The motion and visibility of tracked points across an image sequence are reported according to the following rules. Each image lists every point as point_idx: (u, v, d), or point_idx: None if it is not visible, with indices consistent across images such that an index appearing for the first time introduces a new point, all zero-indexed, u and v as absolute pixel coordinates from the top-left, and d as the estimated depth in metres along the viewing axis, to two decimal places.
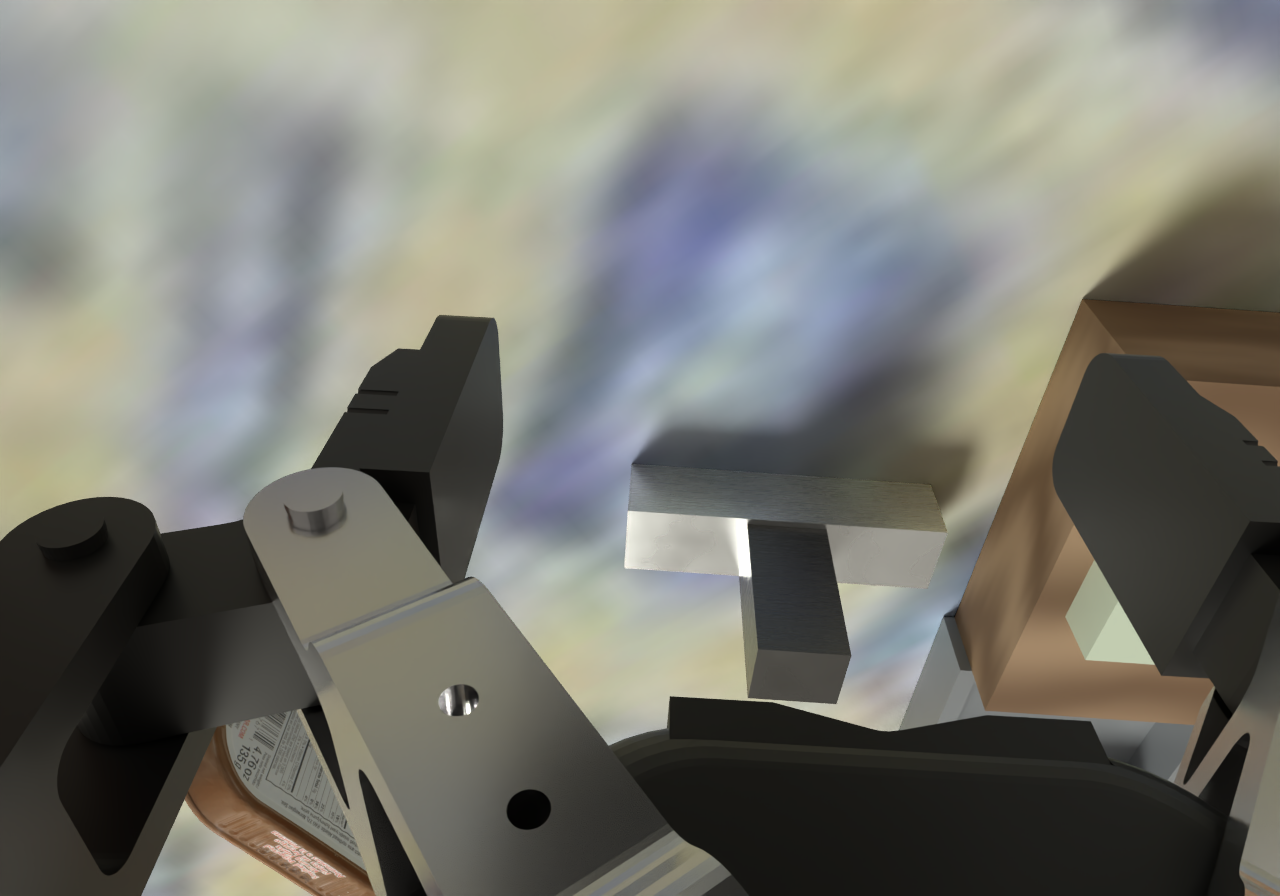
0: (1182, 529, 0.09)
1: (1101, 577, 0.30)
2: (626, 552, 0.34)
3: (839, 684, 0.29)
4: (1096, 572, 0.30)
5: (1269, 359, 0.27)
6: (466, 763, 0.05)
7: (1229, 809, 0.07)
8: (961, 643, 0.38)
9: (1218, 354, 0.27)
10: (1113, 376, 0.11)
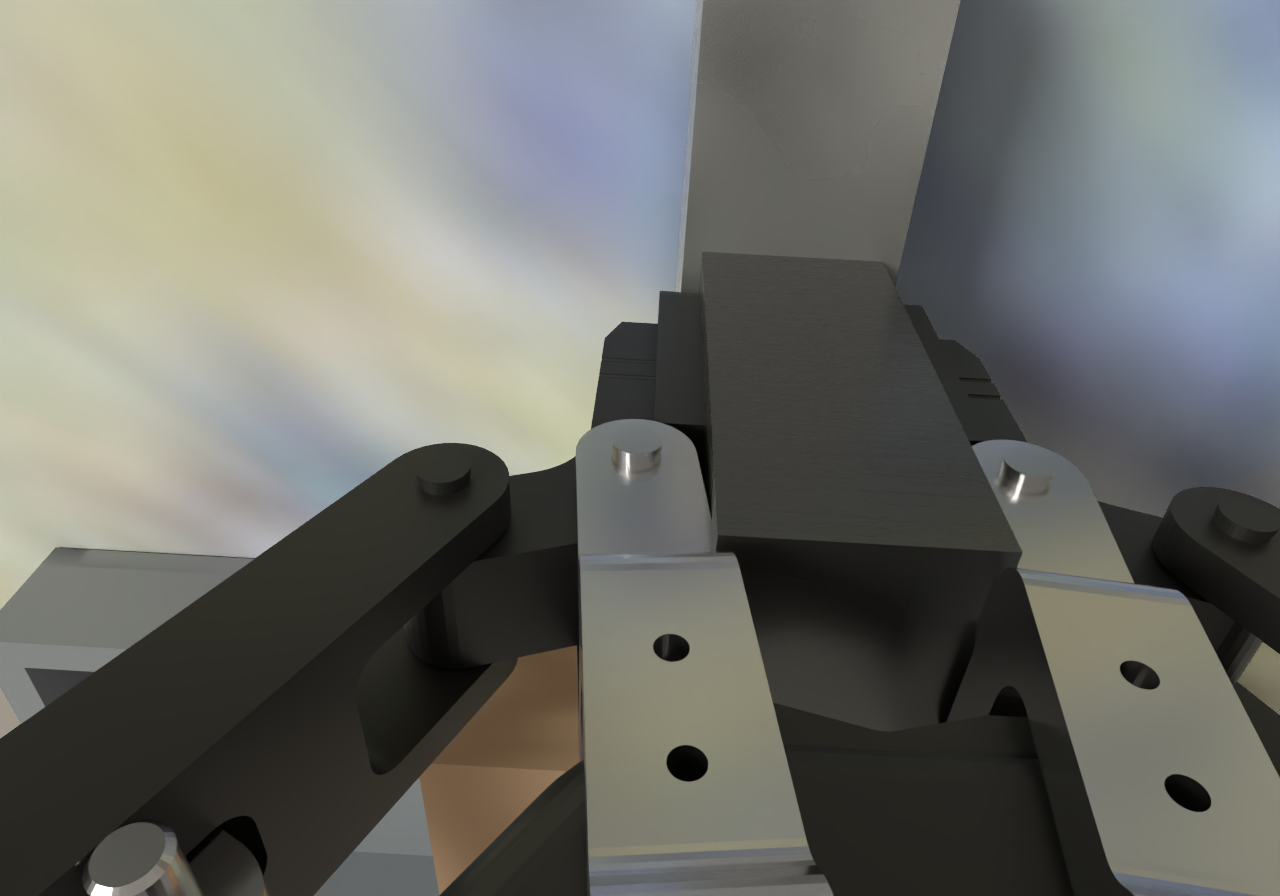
0: None
1: None
2: None
3: None
4: None
5: None
6: (653, 701, 0.06)
7: None
8: None
9: None
10: None
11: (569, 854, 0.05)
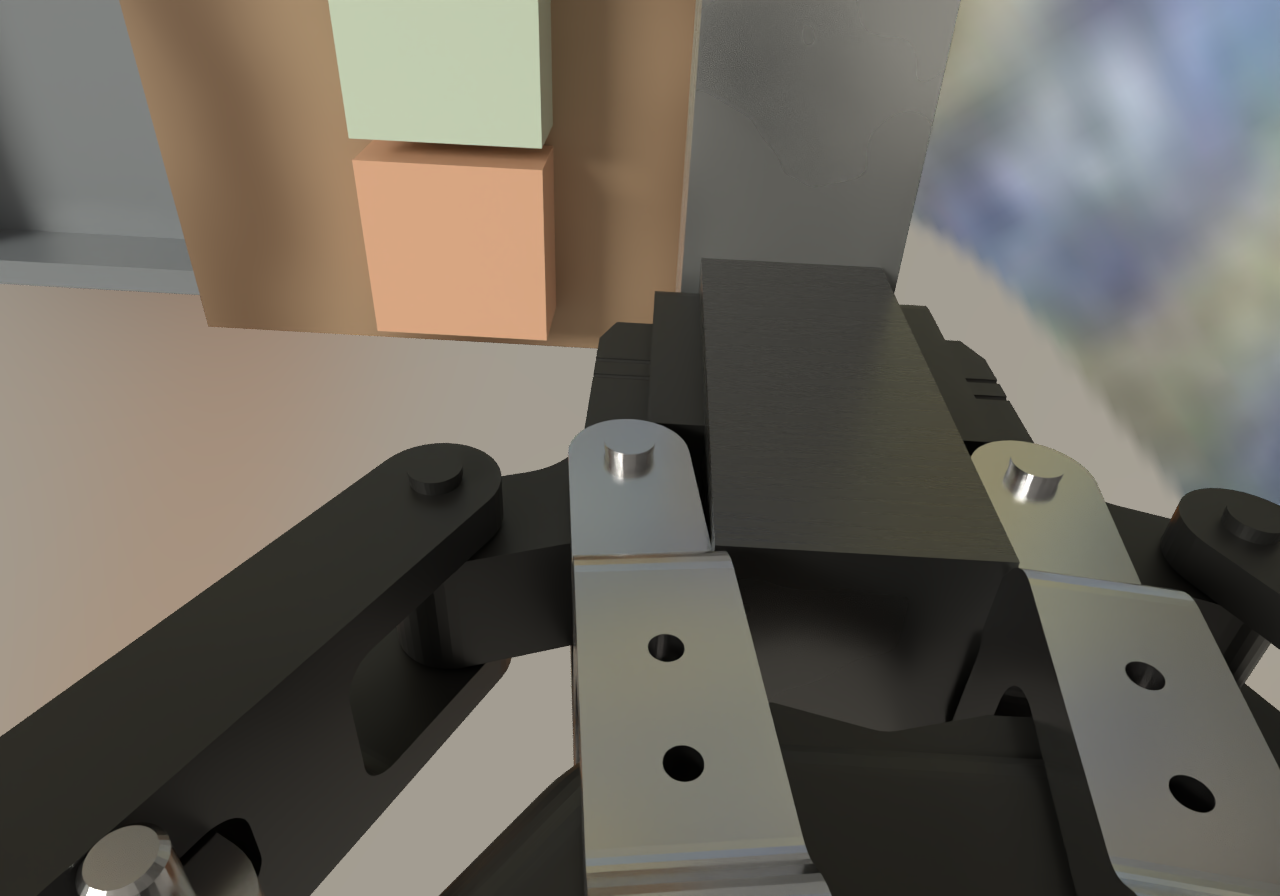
0: None
1: None
2: None
3: None
4: None
5: None
6: (649, 701, 0.06)
7: None
8: None
9: None
10: None
11: (569, 854, 0.05)
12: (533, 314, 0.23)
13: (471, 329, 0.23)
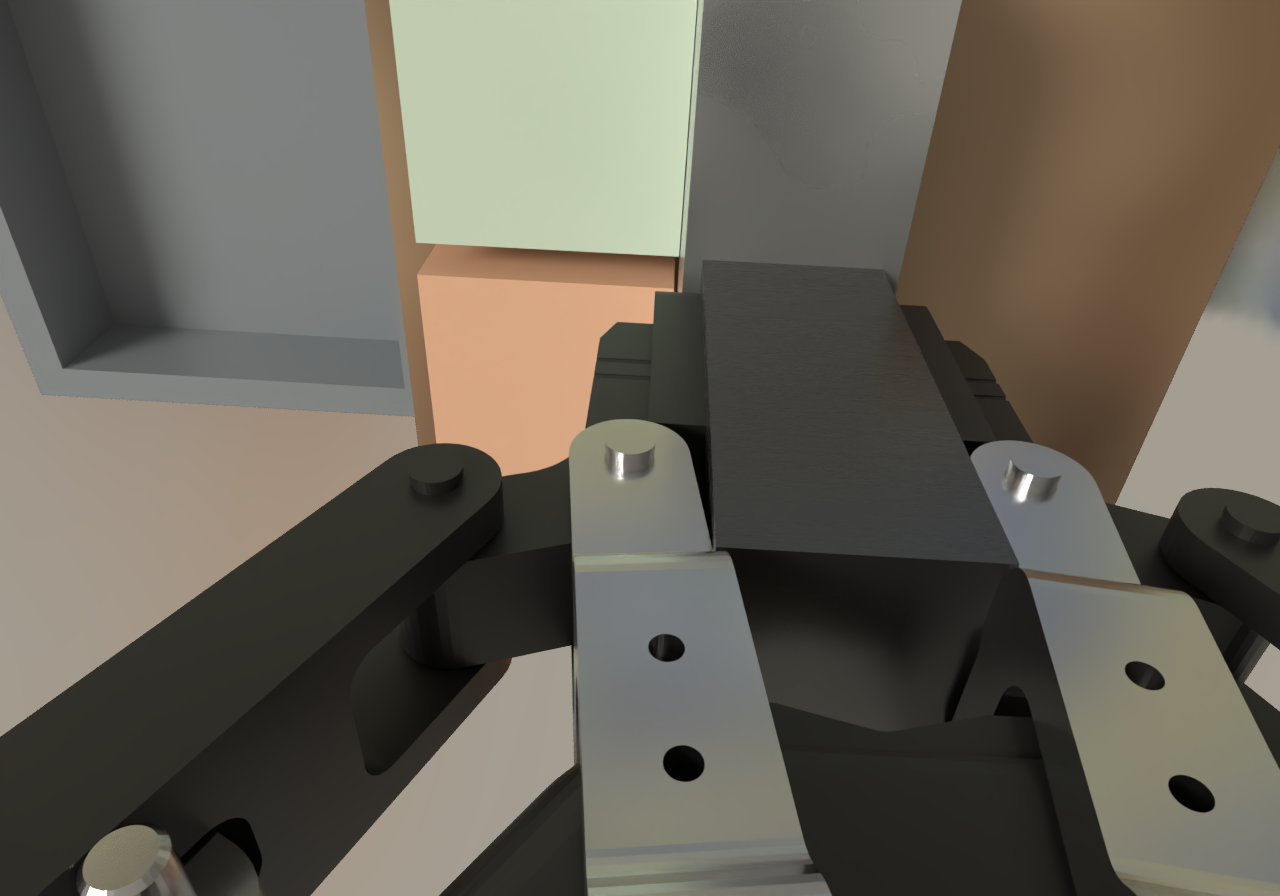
0: None
1: None
2: None
3: None
4: None
5: None
6: (649, 701, 0.06)
7: None
8: None
9: None
10: None
11: (569, 854, 0.05)
12: None
13: None
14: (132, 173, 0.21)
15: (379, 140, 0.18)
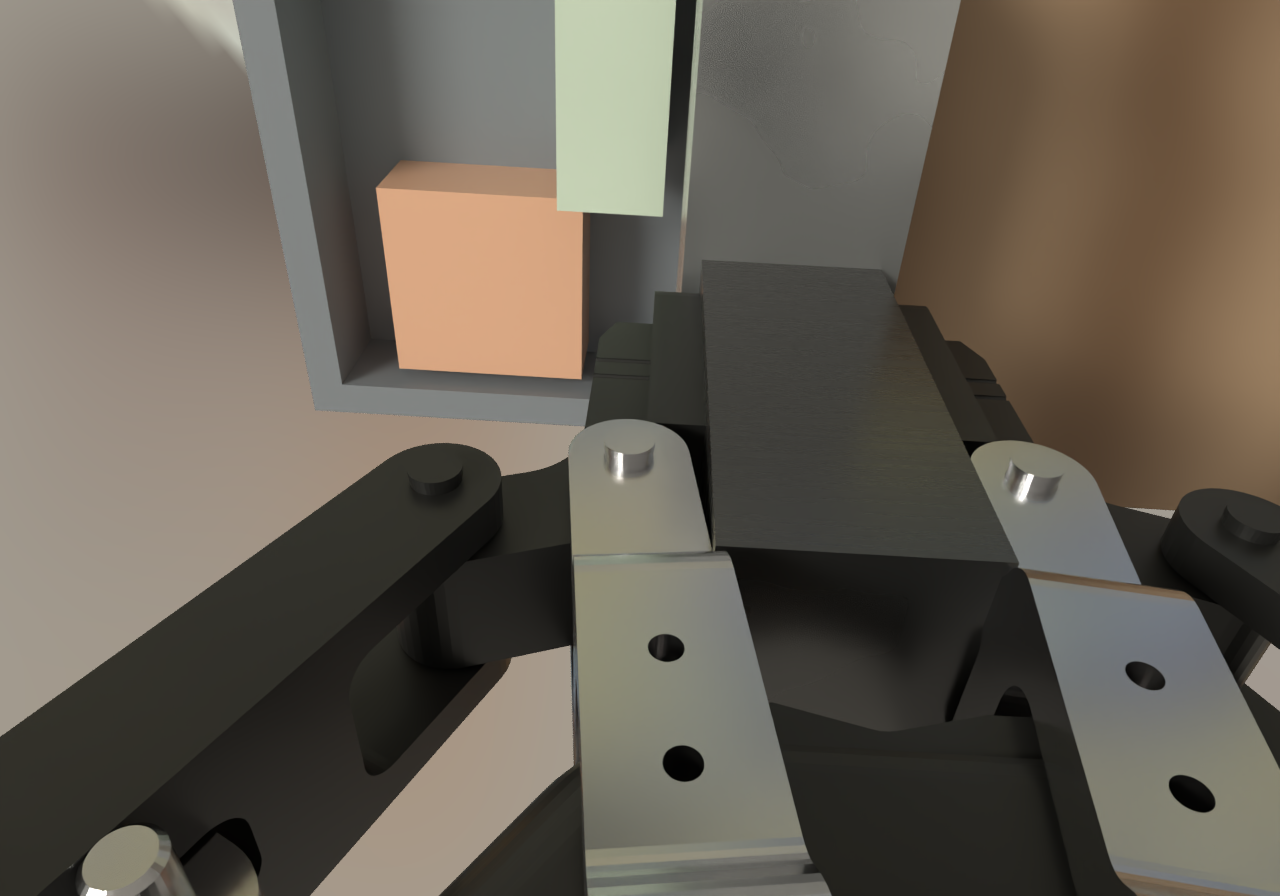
0: None
1: None
2: None
3: None
4: None
5: None
6: (649, 702, 0.06)
7: None
8: None
9: None
10: None
11: (569, 854, 0.05)
12: None
13: None
14: None
15: None
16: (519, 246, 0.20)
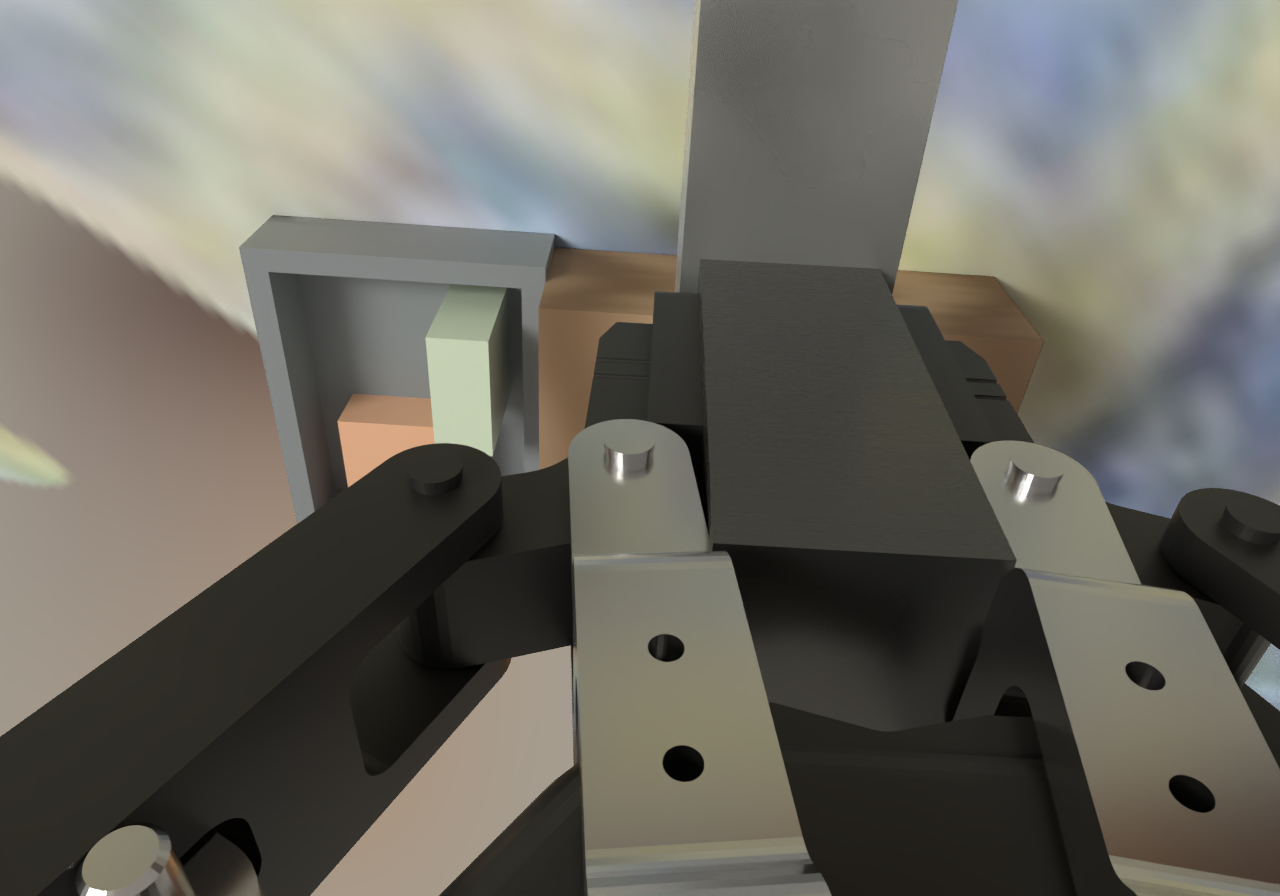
0: None
1: (474, 316, 0.29)
2: None
3: None
4: (485, 315, 0.29)
5: None
6: (649, 701, 0.06)
7: None
8: (549, 262, 0.30)
9: None
10: None
11: (569, 854, 0.05)
12: None
13: None
14: None
15: (527, 413, 0.32)
16: None
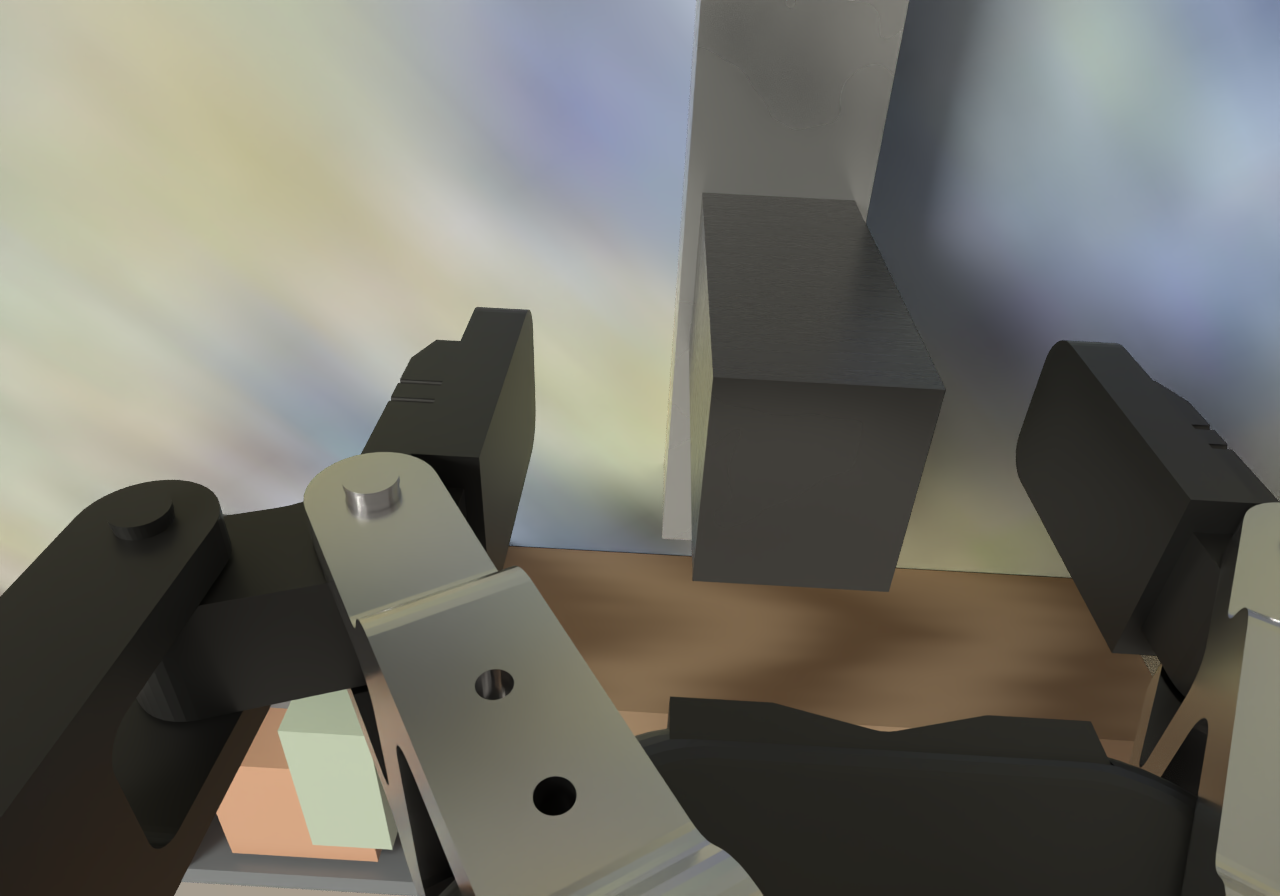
0: (1131, 510, 0.10)
1: None
2: None
3: (774, 580, 0.11)
4: None
5: None
6: (497, 746, 0.05)
7: (1188, 792, 0.07)
8: None
9: None
10: (1071, 363, 0.11)
11: None
12: None
13: None
14: None
15: None
16: None
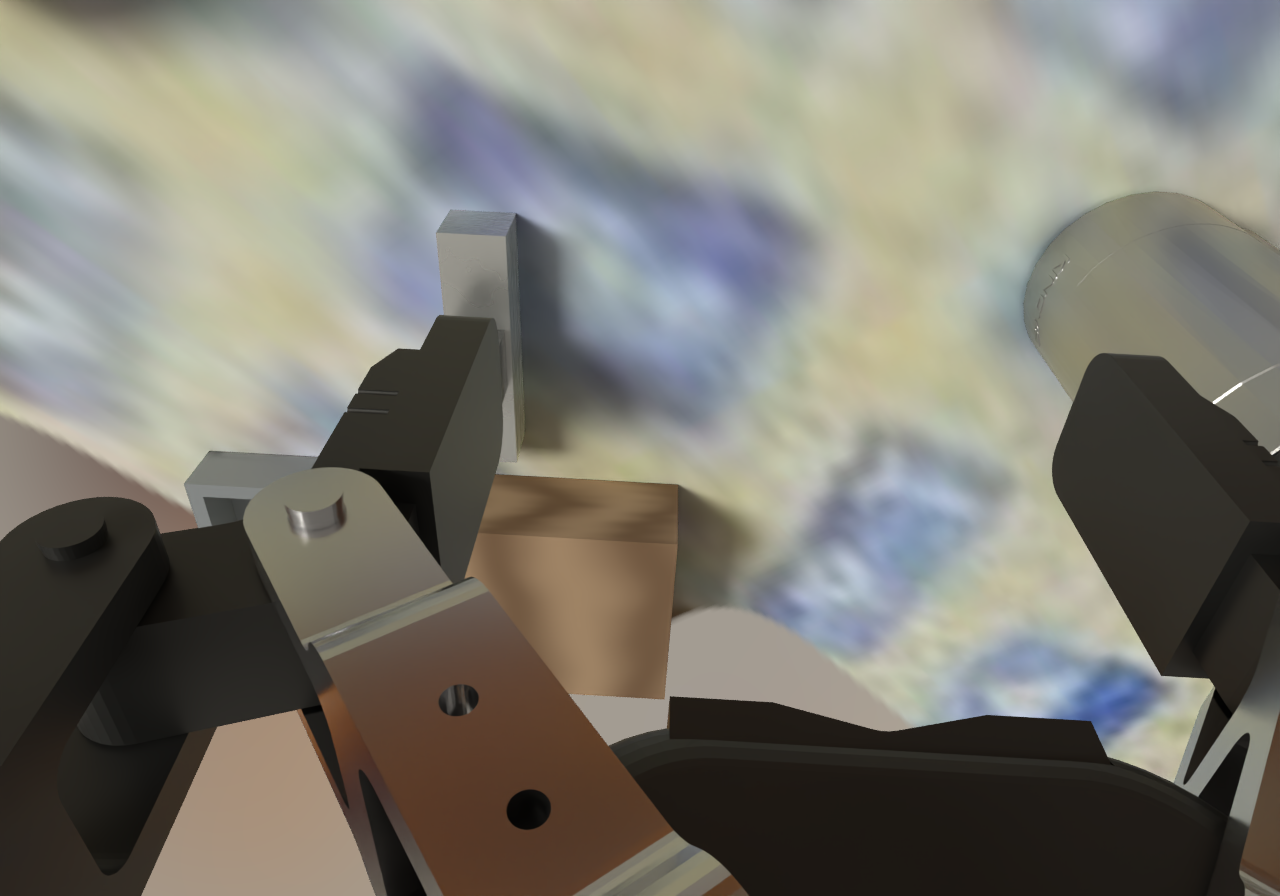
0: (1182, 529, 0.09)
1: None
2: (455, 234, 0.37)
3: None
4: None
5: None
6: (466, 762, 0.05)
7: (1229, 809, 0.07)
8: None
9: None
10: (1114, 376, 0.11)
11: None
12: None
13: None
14: None
15: None
16: None
